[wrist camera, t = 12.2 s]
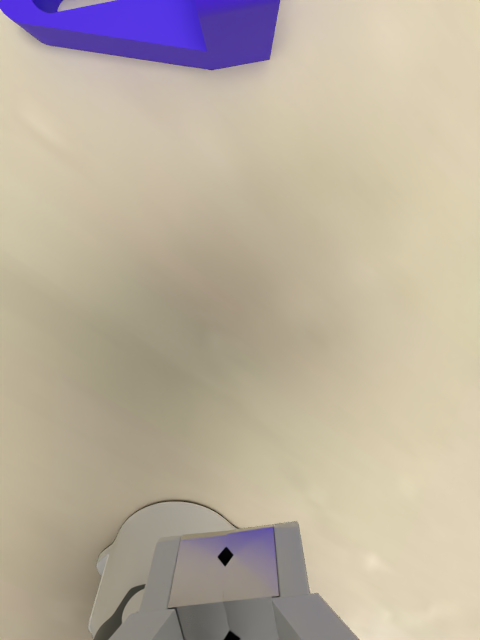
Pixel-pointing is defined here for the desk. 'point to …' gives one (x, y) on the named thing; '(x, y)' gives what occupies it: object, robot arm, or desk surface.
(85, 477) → the desk surface
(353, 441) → the desk surface
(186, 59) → the bracket
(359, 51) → the desk surface
